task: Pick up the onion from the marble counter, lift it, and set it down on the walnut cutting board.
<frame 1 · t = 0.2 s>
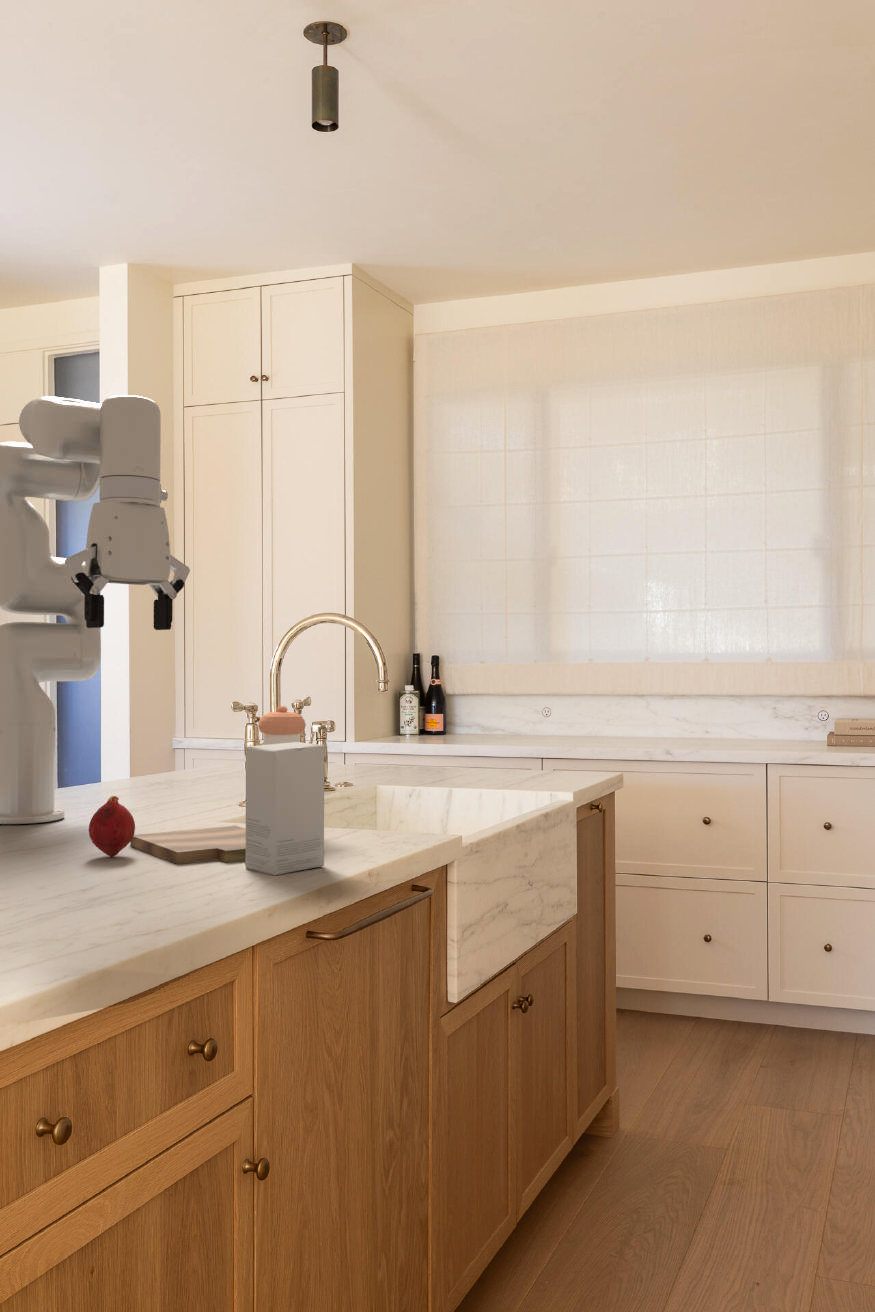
hand: (129, 628, 140), 30 cm above the table, fingers open, 9 cm apart
onion: (111, 858, 145), on the table
skincare box: (285, 870, 138), on the table
board: (208, 848, 151), on the table
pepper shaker: (280, 836, 164), on the table
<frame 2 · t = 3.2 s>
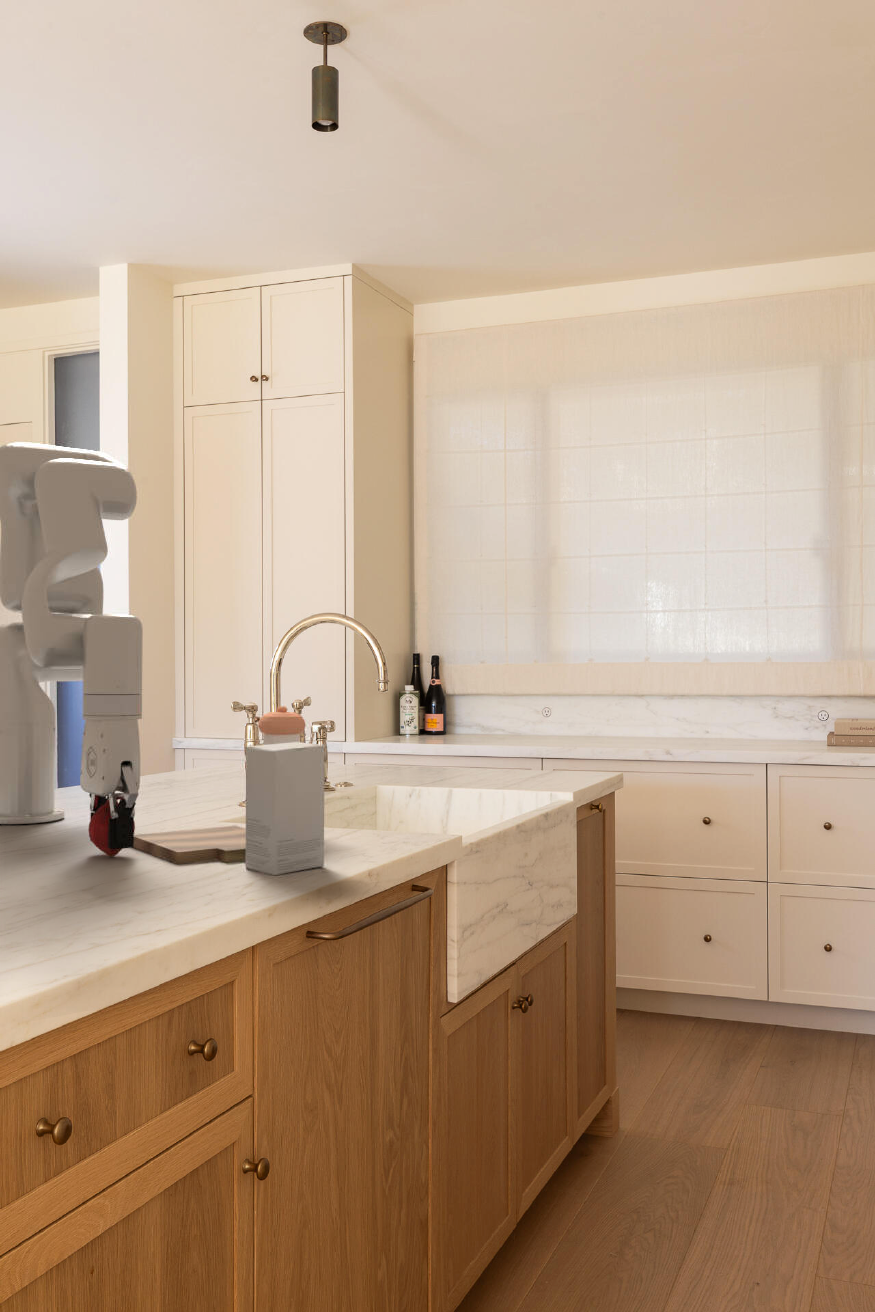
hand: (111, 843, 145), 2 cm above the table, fingers closed on onion, 5 cm apart
onion: (111, 858, 145), on the table, touching gripper
everything else where it was.
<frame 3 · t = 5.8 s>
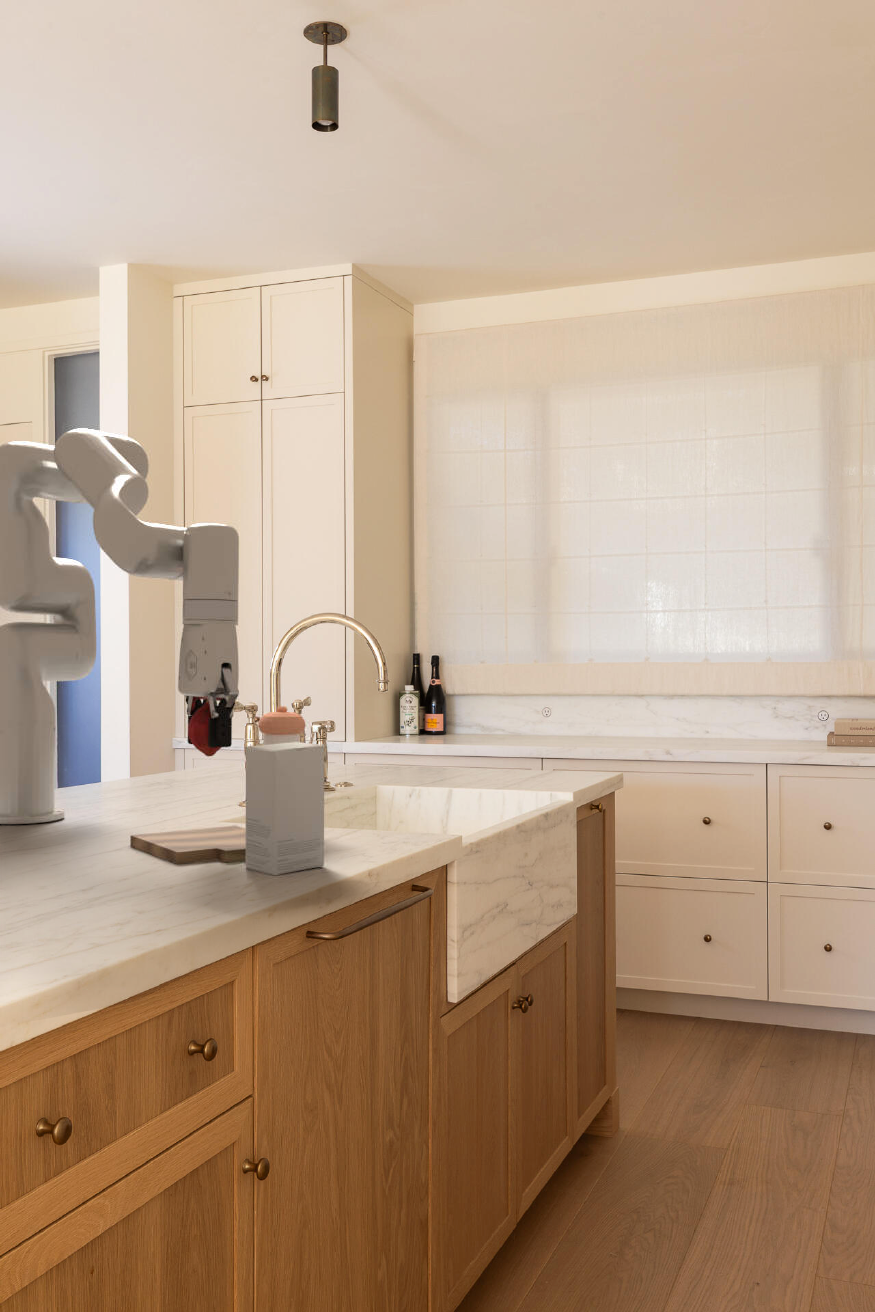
hand: (209, 744, 151), 14 cm above the table, fingers closed on onion, 5 cm apart
onion: (209, 758, 151), point 13 cm above the table, touching gripper
everything else where it was.
when the fingers open (4 cm above the table, at t = 8.3 s): onion drops 1 cm, resting on board.
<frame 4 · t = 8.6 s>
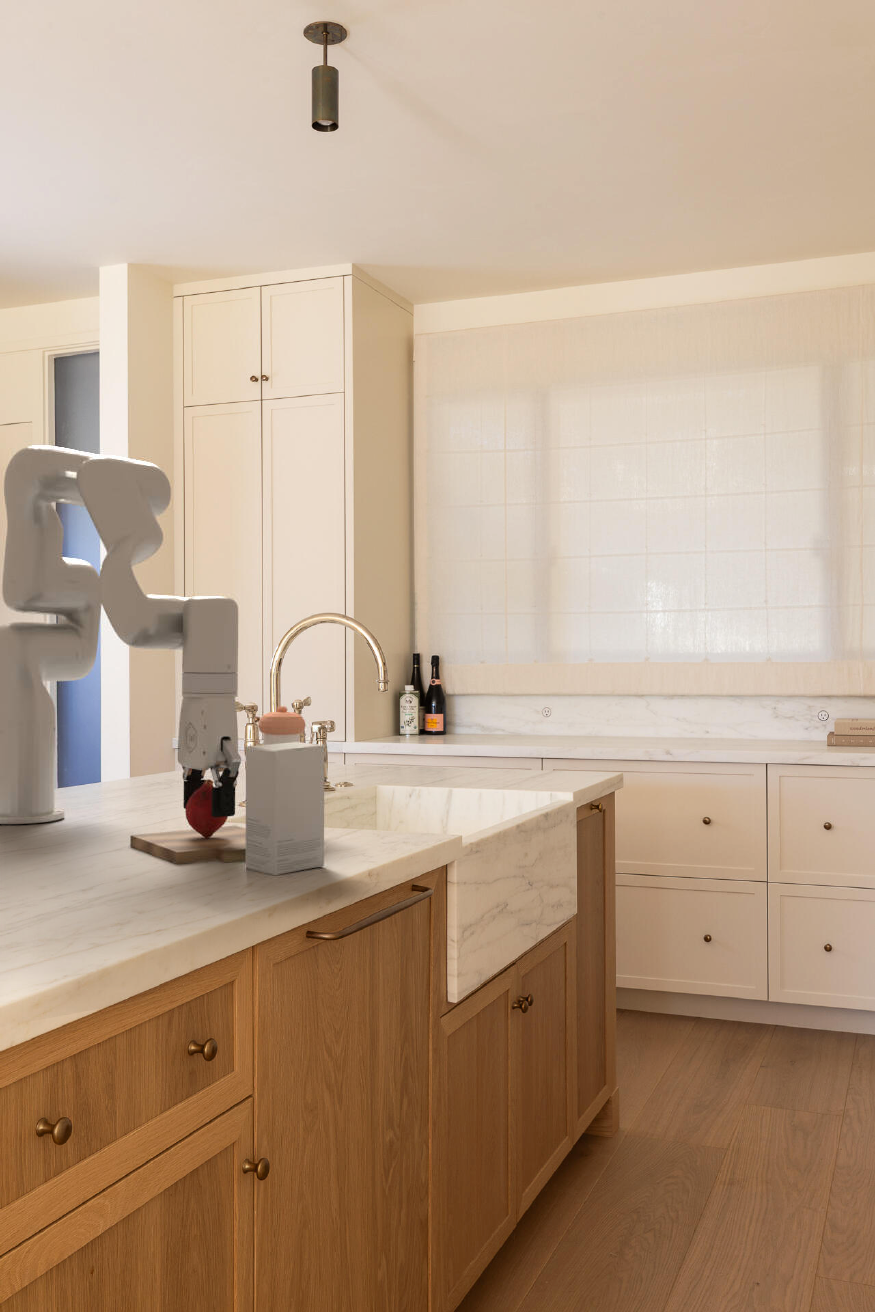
hand: (208, 812, 151), 5 cm above the table, fingers open, 8 cm apart
onion: (206, 839, 151), point 1 cm above the table, touching board
everything else where it was.
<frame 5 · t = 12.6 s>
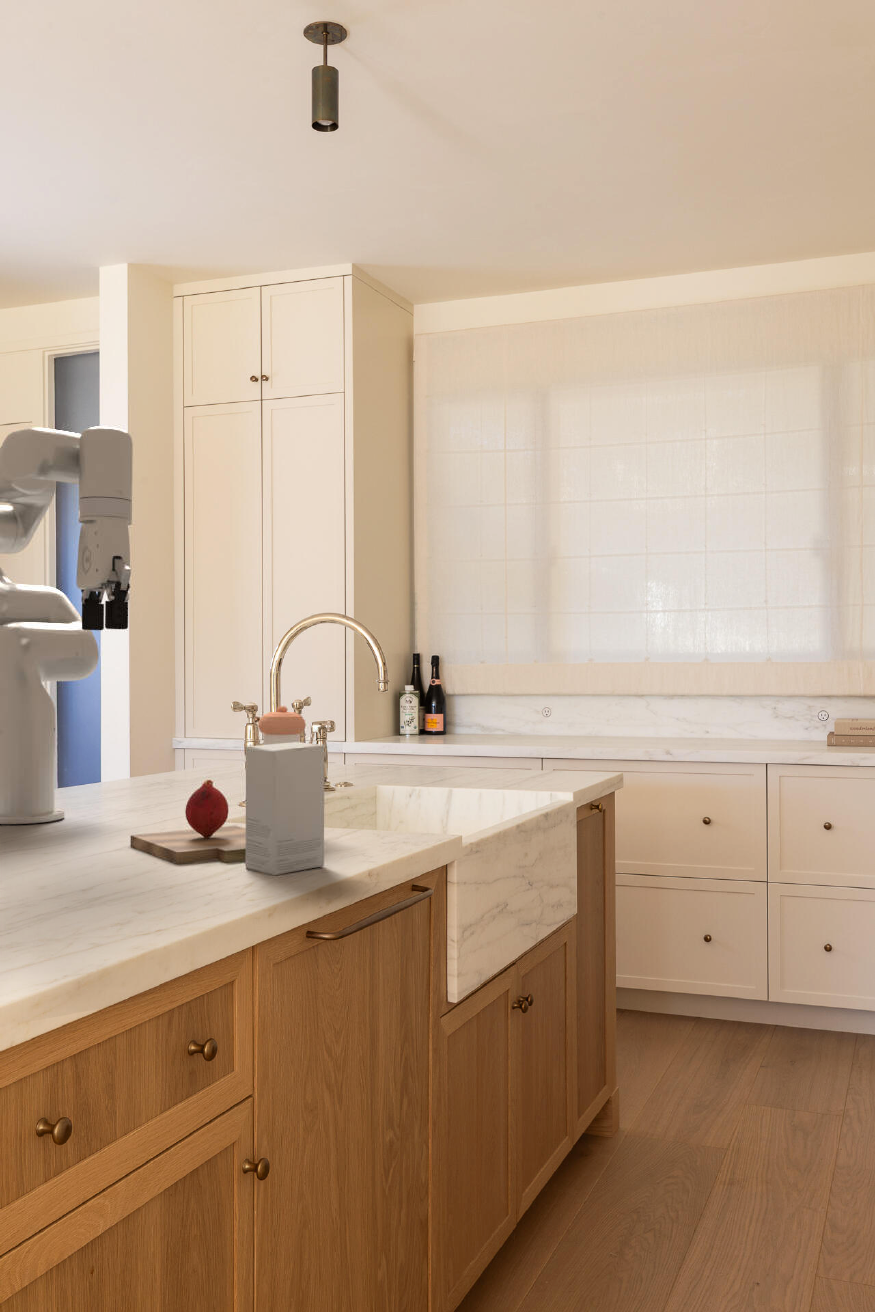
hand: (104, 629, 162), 30 cm above the table, fingers open, 9 cm apart
nothing on the table moved.
at the end: onion inside the target area on the board (0.3 cm from its centre), point 1.3 cm above the board's base; the gripper is holding nothing; onion moved 13.0 cm from its start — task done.
